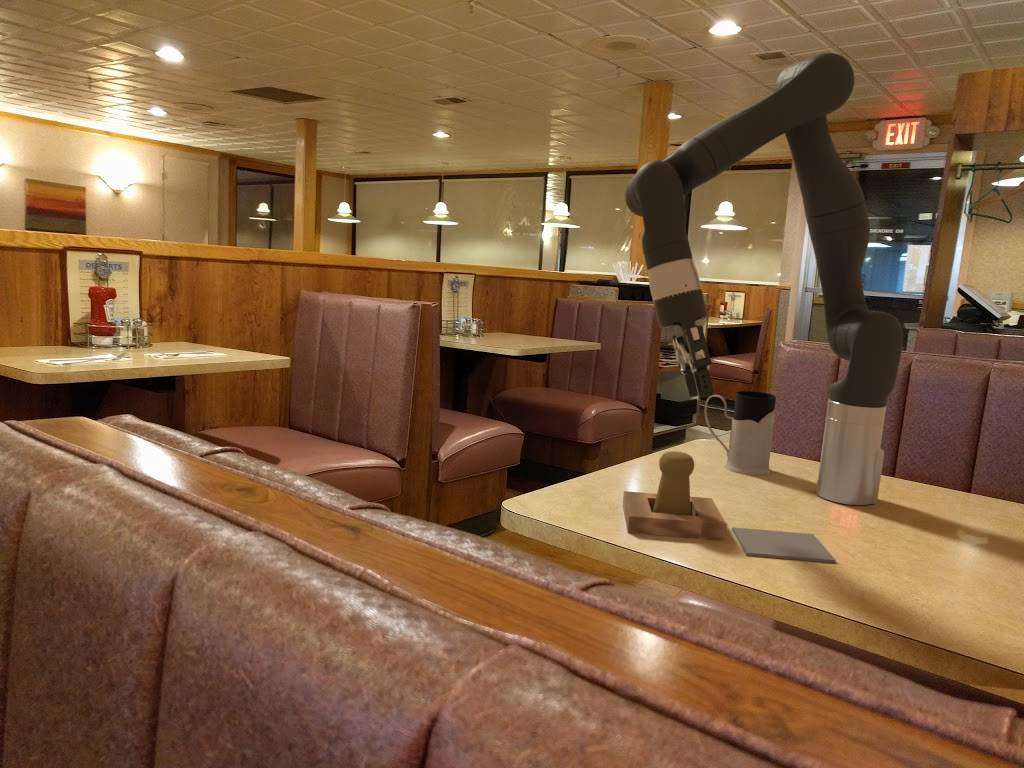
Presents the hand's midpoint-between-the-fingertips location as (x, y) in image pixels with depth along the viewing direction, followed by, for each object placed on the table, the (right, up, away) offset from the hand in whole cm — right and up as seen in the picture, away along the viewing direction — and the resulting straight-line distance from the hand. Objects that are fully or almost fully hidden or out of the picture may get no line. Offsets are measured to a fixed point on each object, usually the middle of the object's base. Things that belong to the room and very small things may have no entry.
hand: (701, 396), depth 116 cm
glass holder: (+15, -15, +35) cm, 41 cm away
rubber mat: (+10, -21, -7) cm, 25 cm away
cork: (-5, -20, 0) cm, 20 cm away
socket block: (-5, -19, 0) cm, 20 cm away
